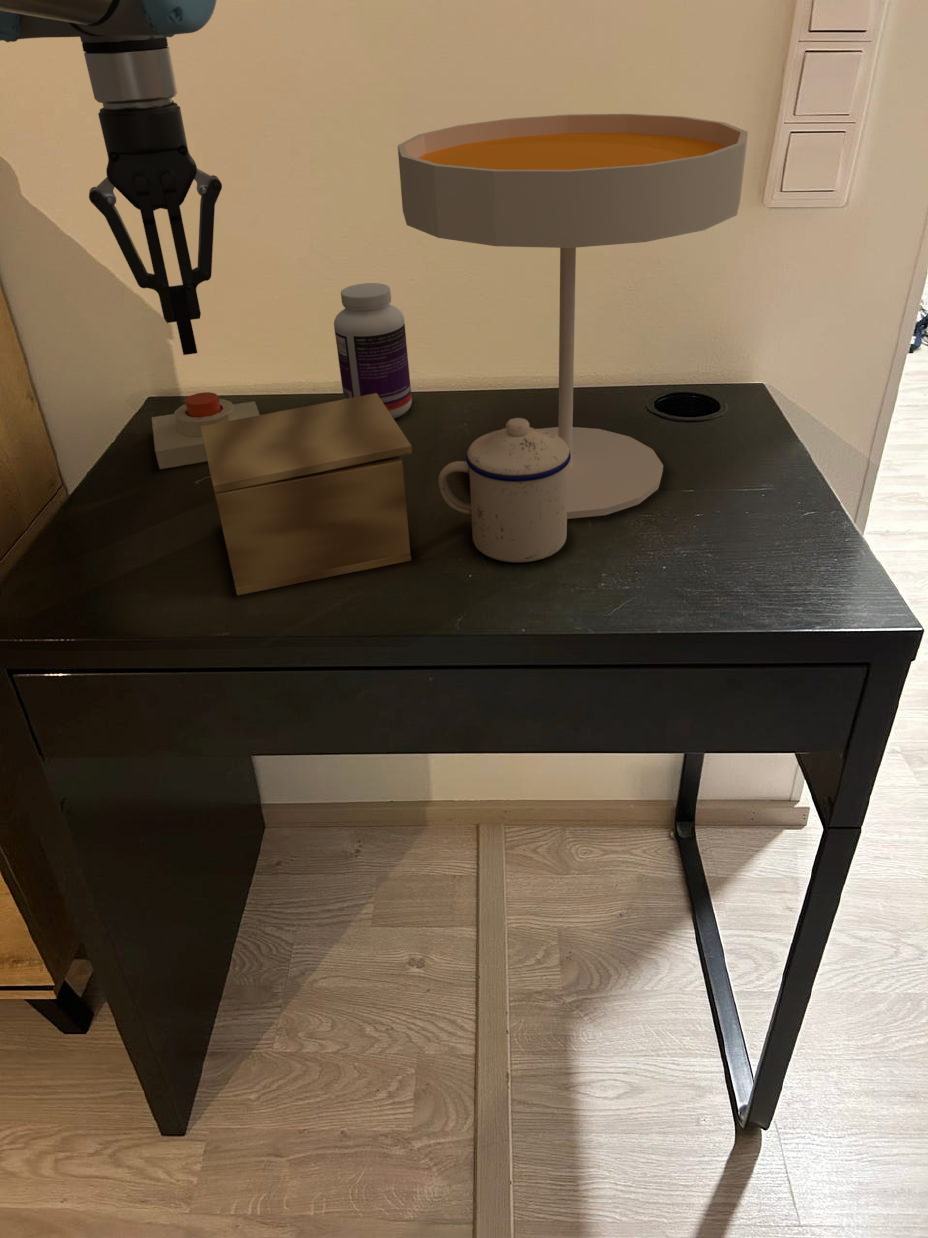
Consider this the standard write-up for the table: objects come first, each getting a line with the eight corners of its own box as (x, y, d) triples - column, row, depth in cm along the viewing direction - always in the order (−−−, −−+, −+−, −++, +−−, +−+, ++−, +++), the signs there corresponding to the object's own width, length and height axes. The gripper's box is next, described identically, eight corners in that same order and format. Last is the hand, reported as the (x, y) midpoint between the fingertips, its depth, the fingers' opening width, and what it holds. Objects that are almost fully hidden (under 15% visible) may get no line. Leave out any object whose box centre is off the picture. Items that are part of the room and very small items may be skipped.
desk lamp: (631, 399, 114) (648, 104, 96) (769, 508, 90) (825, 145, 73) (391, 441, 107) (361, 132, 89) (473, 570, 84) (455, 187, 66)
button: (189, 421, 105) (186, 406, 104) (187, 409, 108) (184, 395, 107) (222, 416, 106) (219, 401, 105) (219, 404, 109) (216, 390, 108)
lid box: (379, 499, 96) (369, 407, 90) (411, 560, 86) (402, 461, 80) (222, 528, 92) (201, 434, 87) (237, 595, 82) (214, 494, 77)
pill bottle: (424, 404, 116) (415, 282, 107) (390, 429, 110) (378, 303, 102) (368, 395, 119) (355, 276, 111) (332, 419, 113) (315, 296, 105)
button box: (159, 469, 104) (151, 435, 102) (155, 434, 112) (147, 402, 110) (269, 451, 107) (263, 417, 104) (257, 418, 115) (252, 386, 112)
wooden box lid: (377, 400, 90) (376, 392, 90) (412, 453, 80) (411, 444, 80) (201, 434, 87) (199, 426, 86) (214, 493, 77) (212, 485, 76)
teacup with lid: (577, 521, 90) (580, 404, 84) (557, 571, 83) (559, 447, 77) (456, 509, 93) (450, 395, 87) (427, 556, 86) (417, 436, 80)
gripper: (204, 93, 94) (246, 331, 107) (66, 104, 91) (126, 348, 104) (211, 101, 88) (254, 352, 101) (63, 113, 85) (127, 370, 98)
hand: (189, 349), depth 103 cm, fingers closed
